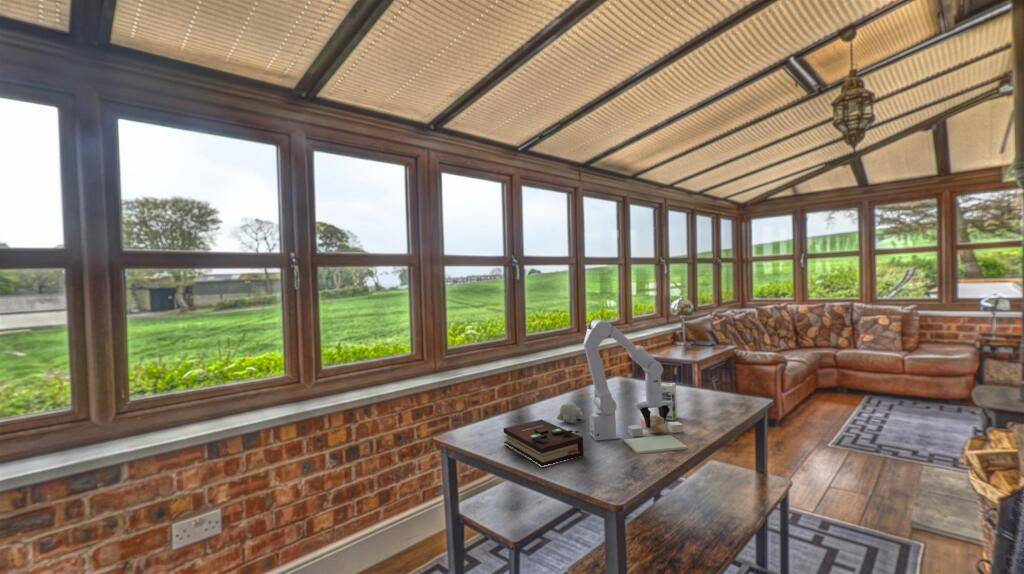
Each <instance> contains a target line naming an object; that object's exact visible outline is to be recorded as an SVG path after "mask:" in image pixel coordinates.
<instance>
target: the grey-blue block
mask: <svg viewBox="0 0 1024 574" xmlns="http://www.w3.org/2000/svg"><path fill="white" fill-rule="evenodd" d="M627 432H628V433H627V434H628V435H630V437H632V438H634V436H637V437H643V436H644V435H643V427H642V426H641V425H638V424H635V425H628V426H627Z"/></svg>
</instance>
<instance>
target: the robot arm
mask: <svg viewBox="0 0 1024 574" xmlns="http://www.w3.org/2000/svg"><path fill="white" fill-rule="evenodd" d="M607 338H609V339H613V340H615V341H616V342H617V343H618V344H619V345H621V346H622V347H623V349H626V350H627V351H628V356H629V357H630V358H631V360H633V361H634V362H635V363H636V364H637V365H638V366H640V368H642V370H643V371H644V375H645V378H644V379H645V380H644V381H645V400H644V401H640V402H635V403H634V409H636V410H639V411H640V412H641V414H642V417H643V419H644V420H645V423H646V427H648V428H650V415H651V414H652V413H651V410H650V409H652V408H653V409H654V408H657V410H658V415H659V416H661V417H662V418H664V425H665V423H666V421H667V420H666V417H667V414H668V413H669V411H670V408H668V406H670V407H673V401H671V400H662V393H661V383H662V376H661V375H662V374H663V372H664V367H663V366H662V363H661V362H660V361H658V360H656V359H654V358H655V356H654V355H653V354H650V353H649V352H648V351H646V347H645V346H641V345H639V344H638V345H635V344H634V343H633V342H632V341H631V340H630V339H628V338H627V336H625V335H624V334H623V332H622V331H620V330H619V329H618V328H617V327H615V326H614V325H612V324H611V323H610V322H608V321H607V320H602V319H600V318H595V319H593V320H592V321H590V322H589V324H588V325H587V327H586V333H585V336H584V340H583V347H584V351H585V355H586V361H587V363H588V368H589V371H590V375H591V380H592V384H593V388H594V389H593V392H594V398H593V403H594V405H595V407H596V409H595V412H594V413H591V414H590V415H589V418H588V419H589V435H590V436H591V437H592V438H593V439H594V441H596V442H597V441H607V440H616V439H619V440H620V439H621V436H620V435H618V433H617V426H616V425H617V424H616V421H617V420H616V410H617V402H616V400H615V399H614V398H613V396H612V393H611V391H610V389H609V386H608V383H607V379H606V374H605V371H604V367H603V363H602V359H601V355H600V351H599V346H600V344H601V343H602V341H604V340H605V339H607Z"/></svg>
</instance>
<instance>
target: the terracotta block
mask: <svg viewBox="0 0 1024 574" xmlns="http://www.w3.org/2000/svg"><path fill="white" fill-rule="evenodd" d="M640 424H641V425H640V427H641V428H642V429H644V428H645V429H644V430H647V429H646V423H645V420H644V418H641V419H640Z"/></svg>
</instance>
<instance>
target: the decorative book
mask: <svg viewBox="0 0 1024 574" xmlns="http://www.w3.org/2000/svg"><path fill="white" fill-rule="evenodd" d="M503 433H504V434H505V435H504V436H503V438H505V439H506V441H504V443H506V444H508V445H509V446H511V447H513V448H514V449H516V450H517V451H519V452H521V453H522V454H524V455H526V456H527V457H529V458H531V459H532V460H533V461H535V462H537V463H538V464H540V465H541V466H544V465H548V464H553V463H556V462H560V461H564V460H567V459H571V458H574V459H576V458H575V457H578V458H580V457H579V456H581V457H584V456H583V455H584V437H583V436H581V435H578V433H580V431H579V430H576V431H575V430H572V429H571V430H568V429H565V428H562V427H561V426H558V425H555V424H553V423H551V422H548V421H546V420H544V419H538V420H537V419H536V420H533V421H528V422H524V423H521V424H517V425H512V426H507V427H504V428H503ZM504 443H503V444H504ZM571 460H572V459H571ZM564 462H565V461H564Z"/></svg>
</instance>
